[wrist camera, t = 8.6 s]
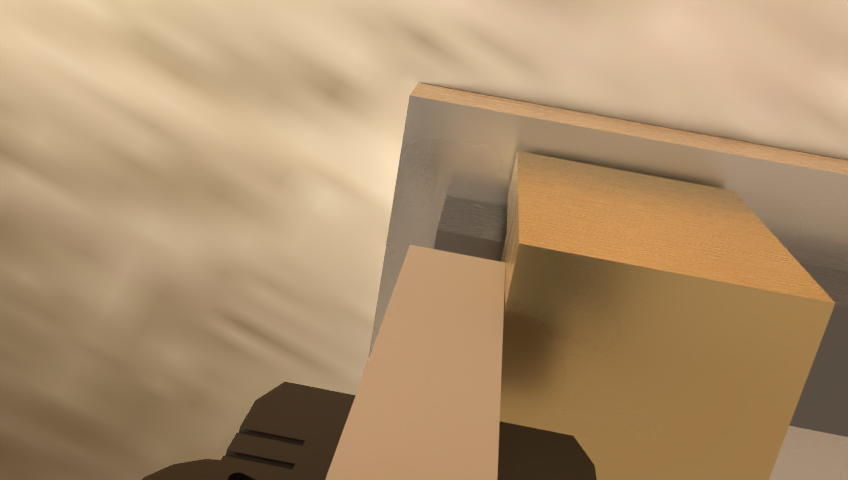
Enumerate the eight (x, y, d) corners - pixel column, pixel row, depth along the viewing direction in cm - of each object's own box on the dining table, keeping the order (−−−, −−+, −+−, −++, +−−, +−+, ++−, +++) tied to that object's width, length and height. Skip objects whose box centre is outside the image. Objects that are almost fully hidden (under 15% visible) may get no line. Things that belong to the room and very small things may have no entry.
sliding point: (615, 571, 18) (651, 791, 13) (437, 535, 18) (410, 740, 13) (733, 190, 15) (835, 303, 10) (517, 151, 15) (519, 243, 10)
